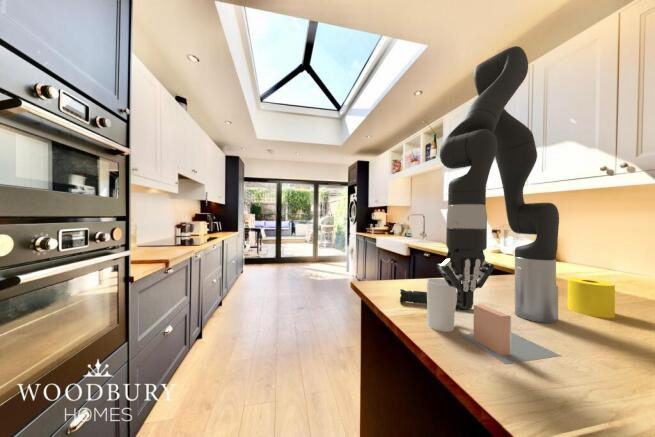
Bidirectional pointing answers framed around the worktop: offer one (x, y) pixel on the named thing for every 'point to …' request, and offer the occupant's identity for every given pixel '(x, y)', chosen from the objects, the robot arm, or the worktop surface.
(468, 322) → the worktop surface
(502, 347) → the tile
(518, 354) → the mat
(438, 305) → the mug
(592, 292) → the tape roll
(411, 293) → the flashlight
